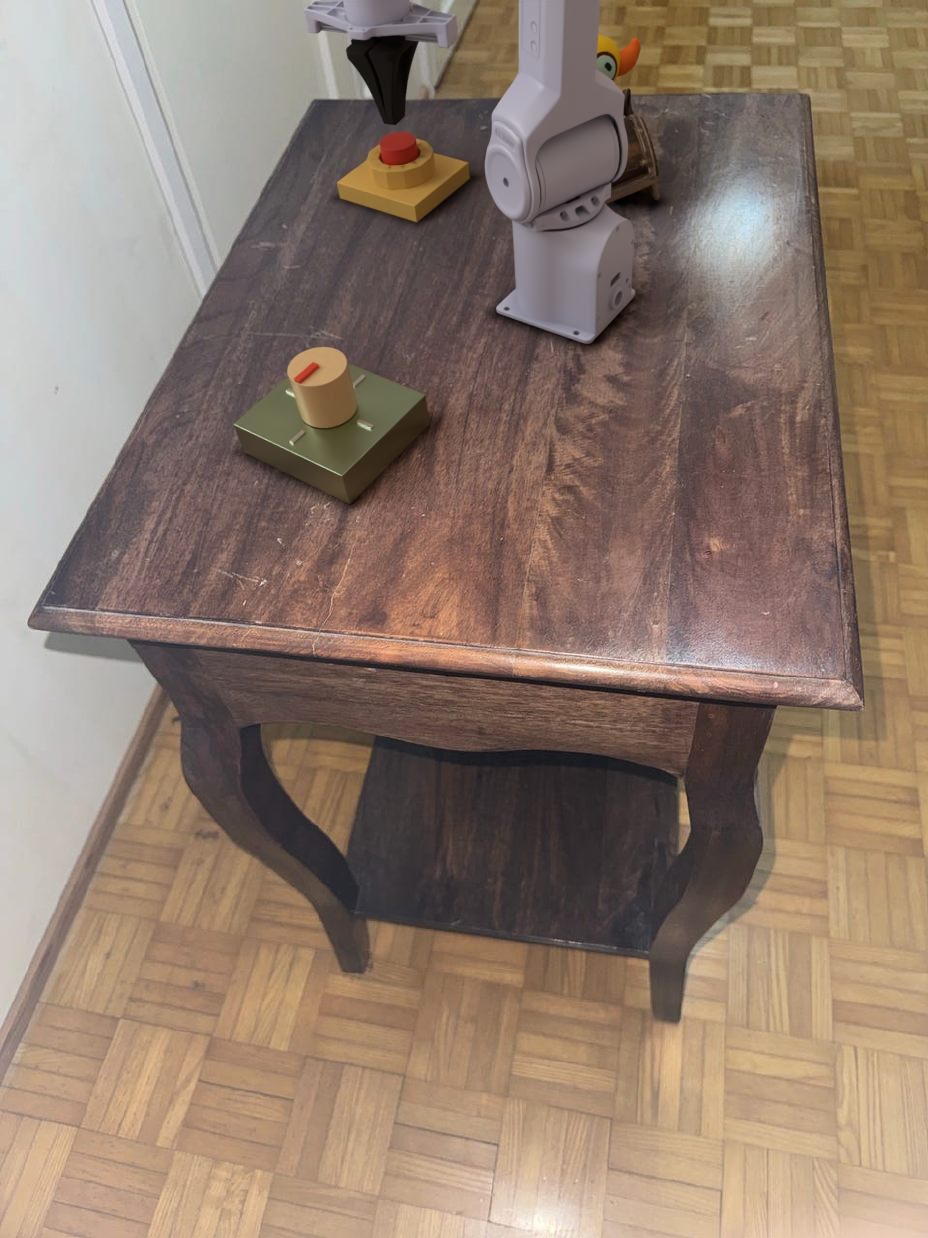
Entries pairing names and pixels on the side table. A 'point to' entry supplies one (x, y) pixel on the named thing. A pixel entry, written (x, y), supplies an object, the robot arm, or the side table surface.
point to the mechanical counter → (637, 162)
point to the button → (398, 148)
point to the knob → (322, 387)
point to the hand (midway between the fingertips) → (394, 119)
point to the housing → (404, 183)
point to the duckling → (616, 57)
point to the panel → (336, 435)
